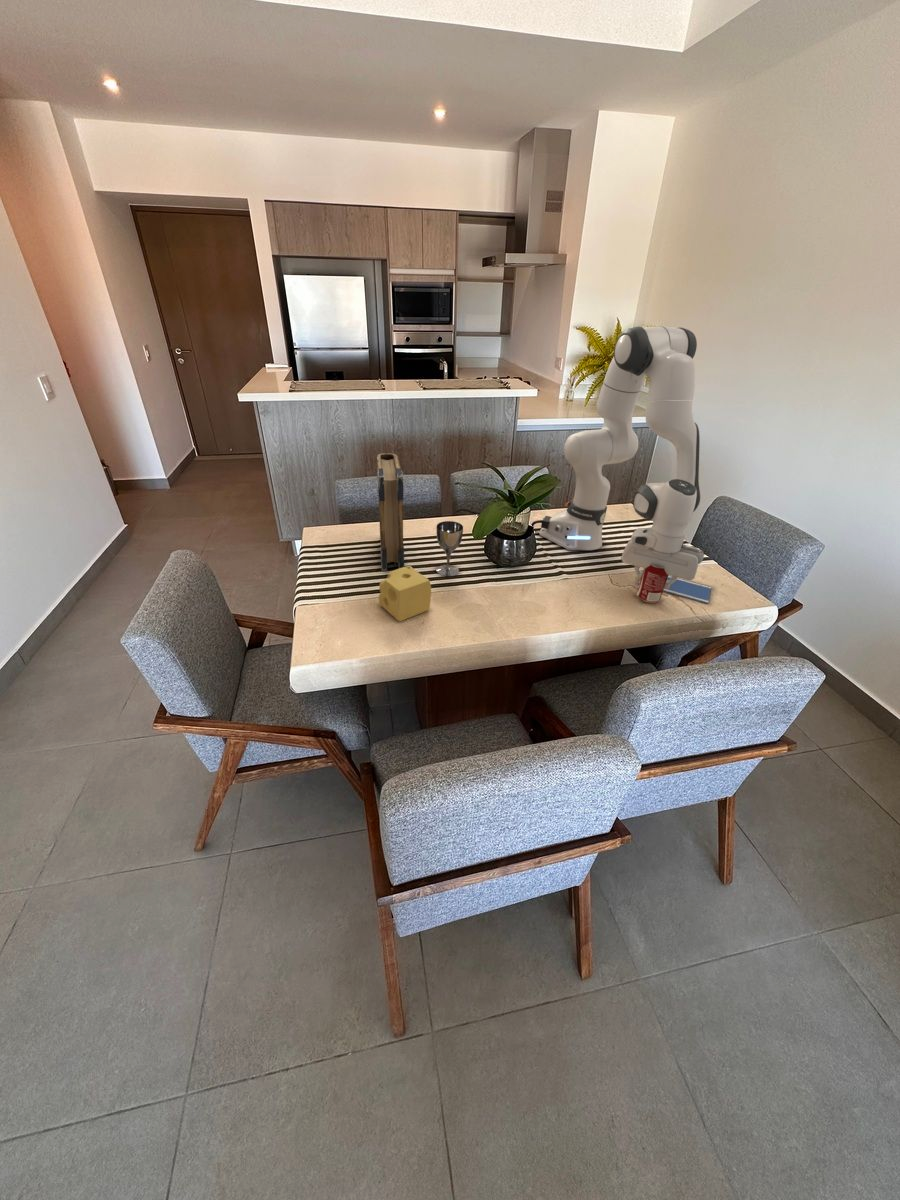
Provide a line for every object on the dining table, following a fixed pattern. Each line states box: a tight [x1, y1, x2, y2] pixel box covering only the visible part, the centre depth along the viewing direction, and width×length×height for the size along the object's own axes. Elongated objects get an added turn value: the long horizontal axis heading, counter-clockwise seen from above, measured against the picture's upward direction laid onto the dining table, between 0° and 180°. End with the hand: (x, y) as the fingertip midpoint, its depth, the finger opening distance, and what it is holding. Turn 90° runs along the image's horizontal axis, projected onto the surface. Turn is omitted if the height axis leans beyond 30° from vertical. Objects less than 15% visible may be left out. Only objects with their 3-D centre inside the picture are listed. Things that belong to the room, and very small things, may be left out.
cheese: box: [378, 565, 432, 622], centre depth 134 cm, size 10×11×10 cm
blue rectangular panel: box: [638, 575, 712, 605], centre depth 153 cm, size 20×11×1 cm, turn 61°
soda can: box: [636, 563, 668, 604], centre depth 143 cm, size 7×7×12 cm
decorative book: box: [376, 452, 405, 572], centre depth 156 cm, size 23×7×30 cm, turn 9°
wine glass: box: [435, 520, 464, 577], centre depth 151 cm, size 8×8×15 cm
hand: (652, 583), depth 144 cm, fingers closed on soda can, 7 cm apart
